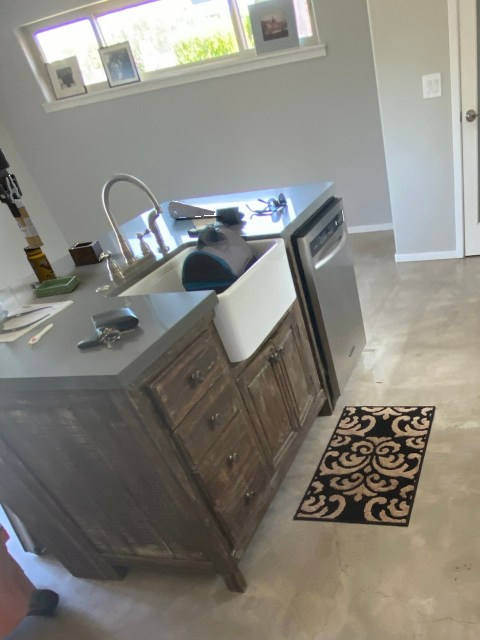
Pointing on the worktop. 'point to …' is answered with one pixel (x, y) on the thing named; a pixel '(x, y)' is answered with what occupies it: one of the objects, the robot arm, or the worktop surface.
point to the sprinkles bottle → (27, 226)
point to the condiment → (40, 265)
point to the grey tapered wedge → (187, 211)
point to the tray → (56, 286)
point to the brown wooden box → (86, 252)
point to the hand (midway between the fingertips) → (20, 215)
